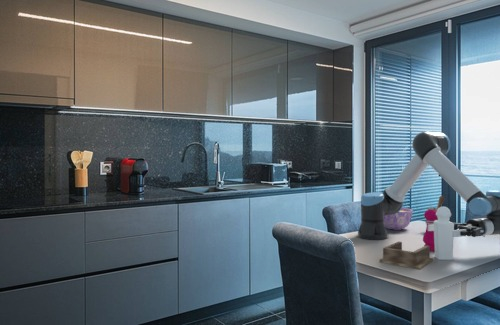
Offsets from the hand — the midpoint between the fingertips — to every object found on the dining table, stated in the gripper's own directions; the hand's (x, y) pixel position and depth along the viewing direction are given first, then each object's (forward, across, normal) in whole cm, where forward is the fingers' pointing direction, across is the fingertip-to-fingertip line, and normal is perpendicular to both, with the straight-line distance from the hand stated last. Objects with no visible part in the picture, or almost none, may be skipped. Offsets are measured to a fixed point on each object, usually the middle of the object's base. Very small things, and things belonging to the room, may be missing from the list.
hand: (440, 230), depth 166 cm
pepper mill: (-9, +14, -12) cm, 21 cm away
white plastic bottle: (-2, 0, -12) cm, 12 cm away
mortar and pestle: (-44, +48, -12) cm, 66 cm away
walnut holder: (+16, +2, -12) cm, 20 cm away
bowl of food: (-26, +62, -12) cm, 69 cm away
